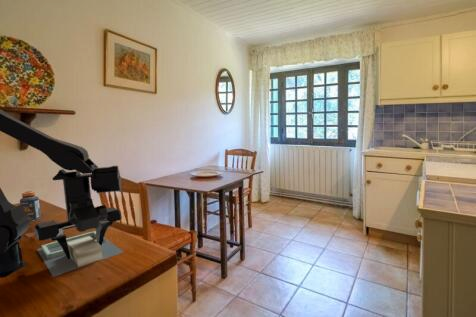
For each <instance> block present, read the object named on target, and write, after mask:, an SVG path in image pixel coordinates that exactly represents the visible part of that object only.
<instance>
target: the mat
mask: <svg viewBox="0 0 476 317" xmlns="http://www.w3.org/2000/svg"><path fill="white" fill-rule="evenodd" d="M91 238H93V239H94V240H97V239H96V237H95V236H91ZM101 248H102V258H103V259H100V260H97V261H95V262H92V263H89V264H86V265H83V266H80V267H78V266H77V265H76V263H75V262H74V261H73V260H72V259H71V257H70V259H68V258H67V256H66V255H65V254H64V255H61V256H58V257H55V258H51V259H48V258H47V257H46V255H45V253H44V252H43V250H42V247H40V248H37V249H36V250H37V252H38V254H39V255H40V257H41V259H42V261H43V262H44V264H45V265H46V267H47V269H48V270H49V272H50V274H51V276H52V277H53V278H54V277H56V276H60V275H62V274H66V273H69V272H71V271H74V270H78V269H81V268H83V267H85V266H88V265H91V264H96V263H98V262H100V261H103V260H105V259H108V258H112V257H115V256H118V255H120V254H123V253H124V250H122V249H121V248H119V247H118V246H116V245H115V244H114V243H112V242H111V241H109V240H108V239H107V238H105V242H104V243H102V246H101ZM48 250H49V251H50V253H53V252H56V251H59V250H63V249H62V248H61V246H60V245H59V246H56V247H52V248H49V249H48Z"/></svg>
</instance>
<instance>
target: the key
mask: <svg viewBox="0 0 476 317" xmlns="http://www.w3.org/2000/svg"><path fill="white" fill-rule="evenodd" d="M34 236H36V235H35V231H34V232H33V231H32V232H28V233H25V234H24V237H27V238H31V237H34Z"/></svg>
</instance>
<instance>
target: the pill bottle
mask: <svg viewBox="0 0 476 317" xmlns="http://www.w3.org/2000/svg"><path fill="white" fill-rule="evenodd" d="M20 204H22V205H23V207H24V210H25V212H26V214H27V215H28V216H30V218H29V219H28V220H29V223H30V222H34V221H38V220H40V219H41V218H42V215H41V208H40V200H39V196H37V195H36V193H35V191H34V190H28V191H24V192H22V193H21V198H20V199H19V205H20Z"/></svg>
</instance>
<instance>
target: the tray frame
mask: <svg viewBox="0 0 476 317" xmlns="http://www.w3.org/2000/svg"><path fill="white" fill-rule="evenodd" d="M87 236H90V237H91V236H95V237H96V230H94V231H89V232H85V233H82V234H79V235H74V236H72V237H71V236H70V237H68V238H67V237H66V241H67V242H69V241H73V240H76V239H80V238H83V237H87ZM105 239H106V238H105V237H104V239H103V242H102V243H104V242H105ZM95 241H96V242H97V240H95ZM59 245H60V244H59V243H58V241H57V240H55V241H54V242H53V241H52V242H49V243H46V244H42V245H41V248H42V250H43V252H44V253H45V255H46V257H47V258H48V259H51V258H55V257H58V256H61V255H64V254H65V253H64V251H63V250H59V251H56V252H53V253H50V251H49V250H48V249H49V248H52V247H56V246H59Z"/></svg>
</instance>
